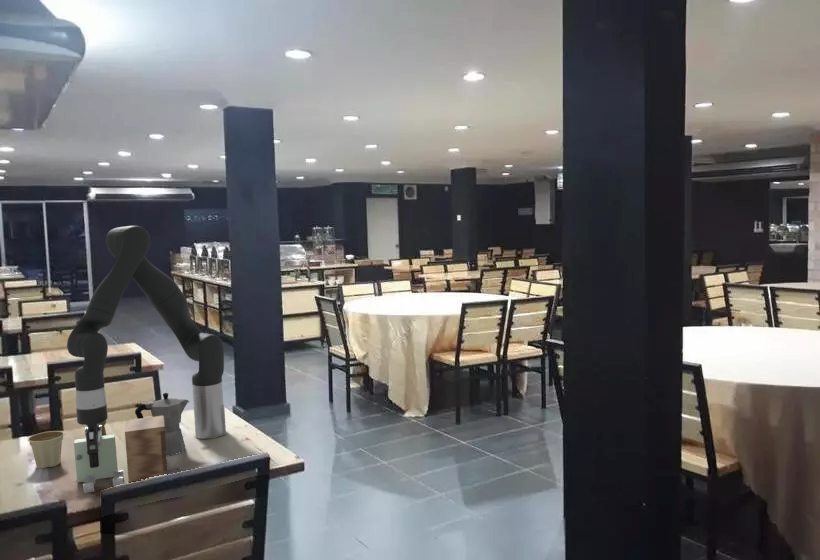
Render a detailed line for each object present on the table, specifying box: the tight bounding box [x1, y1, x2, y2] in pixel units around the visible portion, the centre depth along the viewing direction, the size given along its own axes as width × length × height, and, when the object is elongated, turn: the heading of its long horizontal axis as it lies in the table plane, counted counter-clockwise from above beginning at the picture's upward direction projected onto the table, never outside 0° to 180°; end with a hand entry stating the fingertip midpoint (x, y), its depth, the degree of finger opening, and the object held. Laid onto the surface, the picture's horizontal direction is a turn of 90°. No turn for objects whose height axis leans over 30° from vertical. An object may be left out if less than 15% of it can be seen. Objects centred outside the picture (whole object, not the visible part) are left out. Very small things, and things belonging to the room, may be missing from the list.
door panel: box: [73, 433, 119, 483], centre depth 182 cm, size 10×4×11 cm, turn 112°
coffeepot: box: [134, 392, 190, 456], centre depth 201 cm, size 15×9×18 cm, turn 116°
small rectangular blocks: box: [82, 469, 125, 494], centre depth 177 cm, size 9×6×2 cm, turn 112°
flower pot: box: [27, 430, 65, 469], centre depth 193 cm, size 9×9×9 cm
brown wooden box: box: [124, 415, 169, 483], centre depth 185 cm, size 10×11×14 cm
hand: (95, 462), depth 183 cm, fingers open, 8 cm apart
